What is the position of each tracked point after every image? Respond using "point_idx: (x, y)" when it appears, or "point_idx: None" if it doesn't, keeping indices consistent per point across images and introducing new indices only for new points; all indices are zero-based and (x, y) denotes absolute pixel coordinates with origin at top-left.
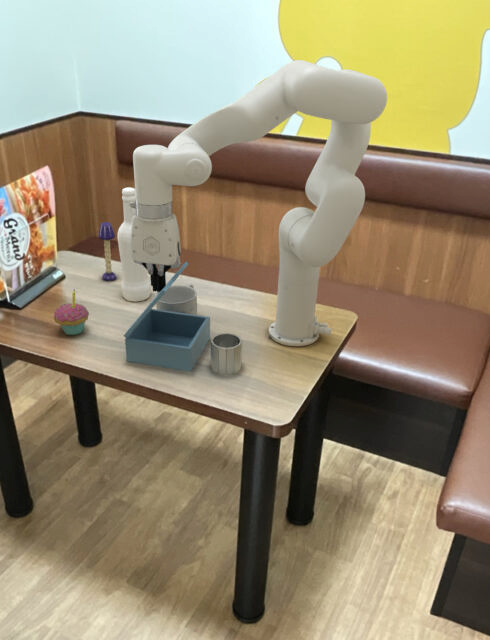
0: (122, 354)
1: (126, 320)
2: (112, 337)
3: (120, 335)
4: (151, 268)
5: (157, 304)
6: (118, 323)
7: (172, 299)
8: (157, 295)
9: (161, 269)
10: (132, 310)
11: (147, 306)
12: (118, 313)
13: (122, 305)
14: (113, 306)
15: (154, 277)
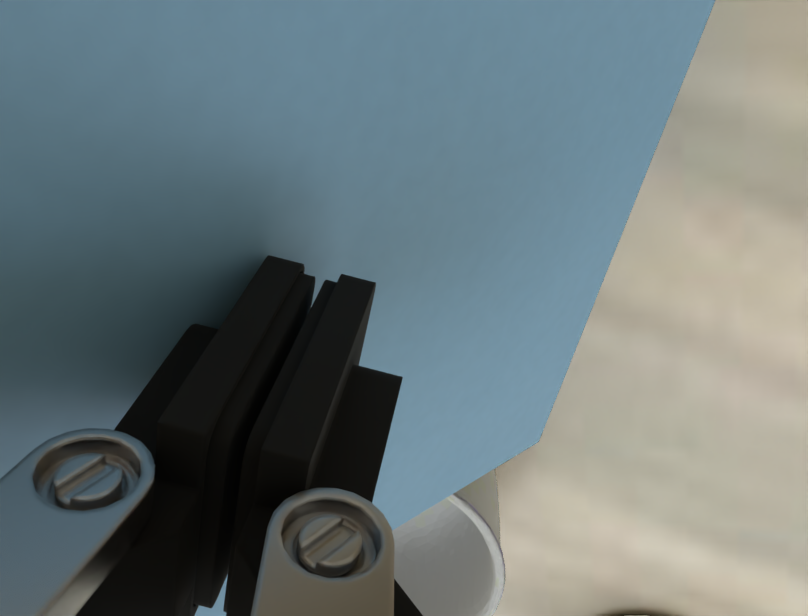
0: (726, 19)
1: (696, 446)
2: (799, 254)
3: (739, 279)
4: (275, 610)
5: (480, 492)
6: (750, 416)
7: (409, 576)
8: (289, 172)
9: (2, 544)
10: (660, 540)
11: (539, 411)
12: (748, 516)
13: (722, 588)
14: (778, 582)
15: (269, 424)
